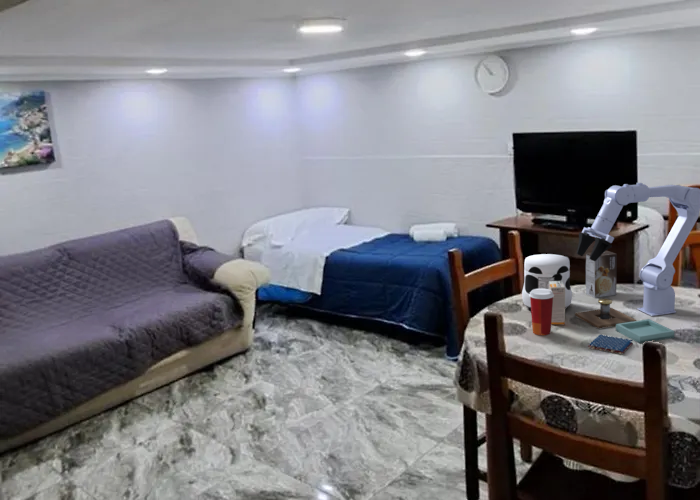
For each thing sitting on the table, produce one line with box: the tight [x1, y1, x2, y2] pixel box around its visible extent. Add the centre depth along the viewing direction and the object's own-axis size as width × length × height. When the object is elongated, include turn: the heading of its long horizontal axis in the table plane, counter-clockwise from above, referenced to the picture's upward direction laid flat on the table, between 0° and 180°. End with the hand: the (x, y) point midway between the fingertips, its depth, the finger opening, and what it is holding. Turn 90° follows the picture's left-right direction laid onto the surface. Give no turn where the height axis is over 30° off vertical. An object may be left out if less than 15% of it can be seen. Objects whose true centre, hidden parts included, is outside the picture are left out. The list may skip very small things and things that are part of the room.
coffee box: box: [585, 250, 618, 299], centre depth 244 cm, size 9×6×16 cm
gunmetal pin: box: [597, 298, 613, 320], centre depth 219 cm, size 4×4×7 cm
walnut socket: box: [574, 307, 637, 330], centre depth 220 cm, size 14×14×1 cm
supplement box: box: [549, 281, 566, 325], centre depth 221 cm, size 8×5×13 cm, turn 168°
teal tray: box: [615, 318, 675, 344], centre depth 205 cm, size 12×12×2 cm
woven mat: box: [587, 334, 634, 355], centre depth 198 cm, size 10×11×2 cm
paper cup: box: [529, 289, 554, 336], centre depth 211 cm, size 8×8×14 cm
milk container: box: [521, 253, 573, 310], centre depth 234 cm, size 17×17×18 cm
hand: (585, 257), depth 214 cm, fingers open, 7 cm apart
